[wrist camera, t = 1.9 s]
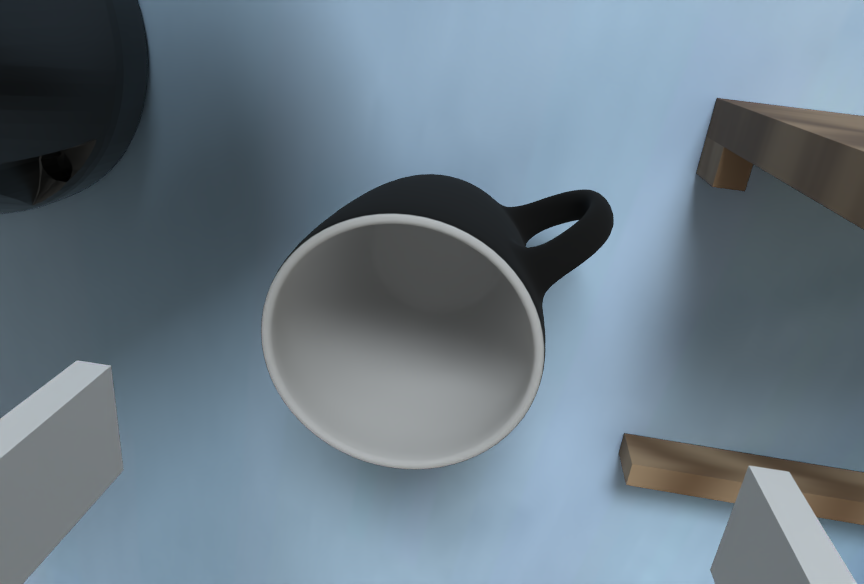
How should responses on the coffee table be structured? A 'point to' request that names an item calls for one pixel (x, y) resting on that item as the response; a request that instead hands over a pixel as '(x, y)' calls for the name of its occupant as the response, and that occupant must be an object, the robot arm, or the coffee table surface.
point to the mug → (421, 317)
